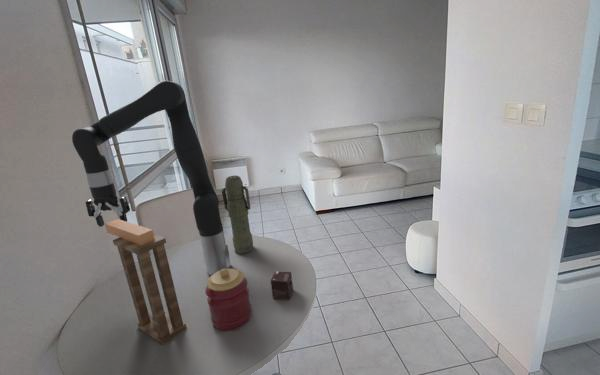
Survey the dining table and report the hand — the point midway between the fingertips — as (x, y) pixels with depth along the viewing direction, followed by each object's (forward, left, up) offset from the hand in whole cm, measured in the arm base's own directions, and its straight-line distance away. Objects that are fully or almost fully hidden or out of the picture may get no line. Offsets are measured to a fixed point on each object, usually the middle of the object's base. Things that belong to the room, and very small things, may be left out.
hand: (113, 224), depth 116 cm
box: (-62, +14, -26) cm, 69 cm away
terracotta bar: (-20, +23, +5) cm, 31 cm away
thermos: (-42, -22, -26) cm, 54 cm away
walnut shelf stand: (-24, +26, -26) cm, 44 cm away
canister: (-46, +24, -26) cm, 58 cm away
